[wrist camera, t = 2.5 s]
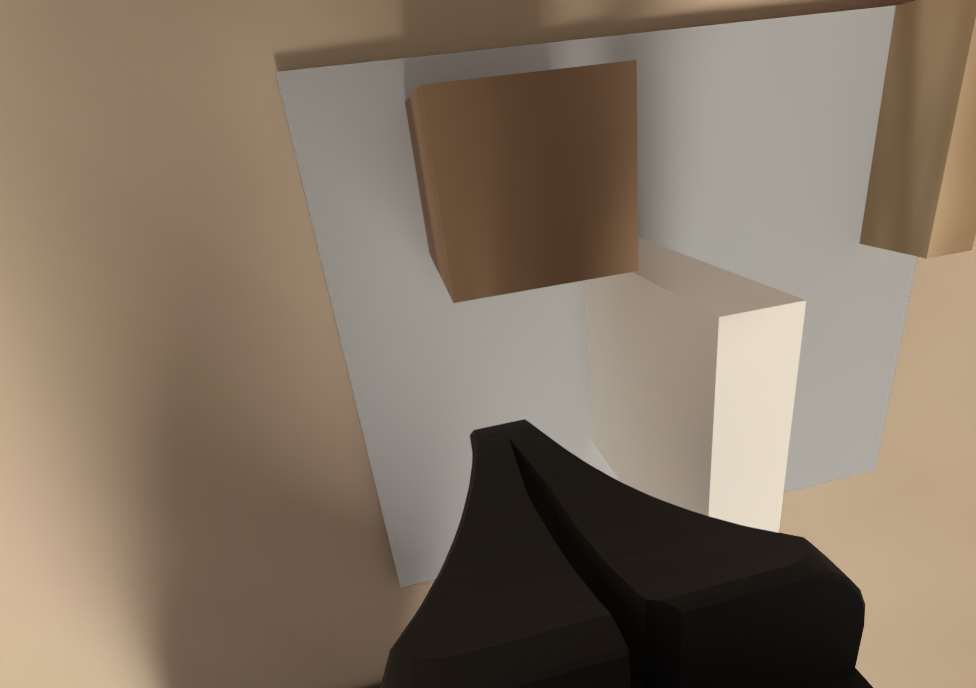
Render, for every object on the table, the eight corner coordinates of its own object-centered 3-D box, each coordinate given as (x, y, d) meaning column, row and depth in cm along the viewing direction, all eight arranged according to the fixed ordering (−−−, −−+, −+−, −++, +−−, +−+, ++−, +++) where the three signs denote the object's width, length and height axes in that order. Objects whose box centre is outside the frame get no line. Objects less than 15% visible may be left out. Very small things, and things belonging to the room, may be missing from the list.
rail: (859, 243, 18) (926, 258, 16) (896, 5, 15) (982, -17, 13) (899, 236, 18) (971, 250, 16) (942, 0, 16) (1035, -23, 13)
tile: (591, 440, 19) (704, 597, 12) (581, 245, 16) (719, 317, 10) (642, 429, 19) (778, 577, 13) (641, 235, 16) (813, 298, 10)
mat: (399, 579, 20) (400, 588, 19) (277, 73, 13) (275, 71, 13) (867, 465, 23) (875, 470, 22) (955, 0, 16) (968, -3, 16)
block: (429, 253, 15) (453, 302, 11) (405, 101, 14) (420, 85, 9) (561, 232, 16) (638, 270, 11) (552, 84, 14) (637, 59, 10)
